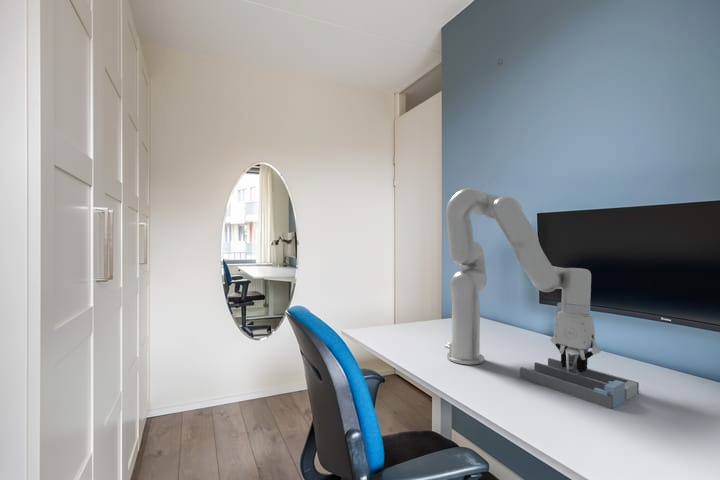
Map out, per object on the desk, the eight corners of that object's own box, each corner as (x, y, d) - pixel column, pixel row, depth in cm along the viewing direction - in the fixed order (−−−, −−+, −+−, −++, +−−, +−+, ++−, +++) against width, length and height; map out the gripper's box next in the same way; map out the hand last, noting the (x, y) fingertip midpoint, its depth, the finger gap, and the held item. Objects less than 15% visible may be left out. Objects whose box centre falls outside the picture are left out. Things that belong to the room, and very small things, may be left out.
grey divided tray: (519, 377, 113) (519, 361, 113) (549, 366, 122) (549, 351, 122) (611, 408, 92) (611, 389, 92) (638, 393, 102) (638, 375, 102)
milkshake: (586, 381, 109) (588, 348, 108) (566, 379, 110) (568, 346, 109) (580, 375, 113) (582, 343, 113) (561, 373, 114) (563, 341, 114)
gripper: (541, 305, 116) (540, 362, 116) (600, 315, 102) (598, 381, 102) (554, 303, 120) (552, 358, 120) (612, 313, 106) (610, 375, 107)
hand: (573, 368), depth 111 cm, fingers closed on milkshake, 4 cm apart
